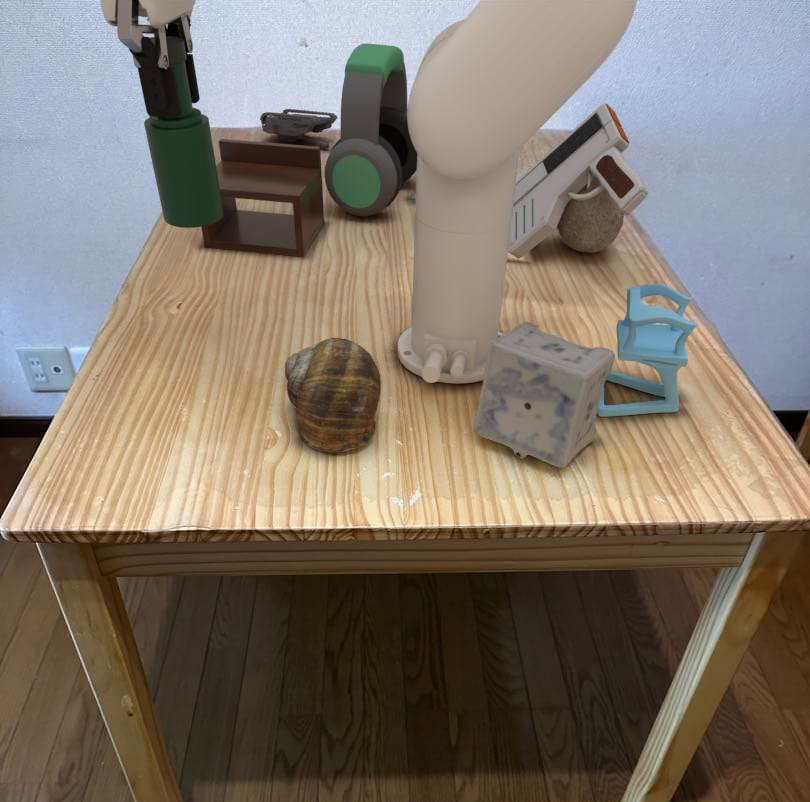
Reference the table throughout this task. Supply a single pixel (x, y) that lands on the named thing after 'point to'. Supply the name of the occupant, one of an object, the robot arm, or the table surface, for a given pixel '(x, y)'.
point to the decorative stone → (590, 221)
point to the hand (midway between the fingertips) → (174, 106)
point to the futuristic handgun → (574, 179)
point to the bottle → (184, 155)
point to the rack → (268, 197)
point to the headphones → (371, 133)
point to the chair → (651, 349)
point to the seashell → (334, 394)
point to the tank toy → (297, 125)
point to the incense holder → (541, 394)
